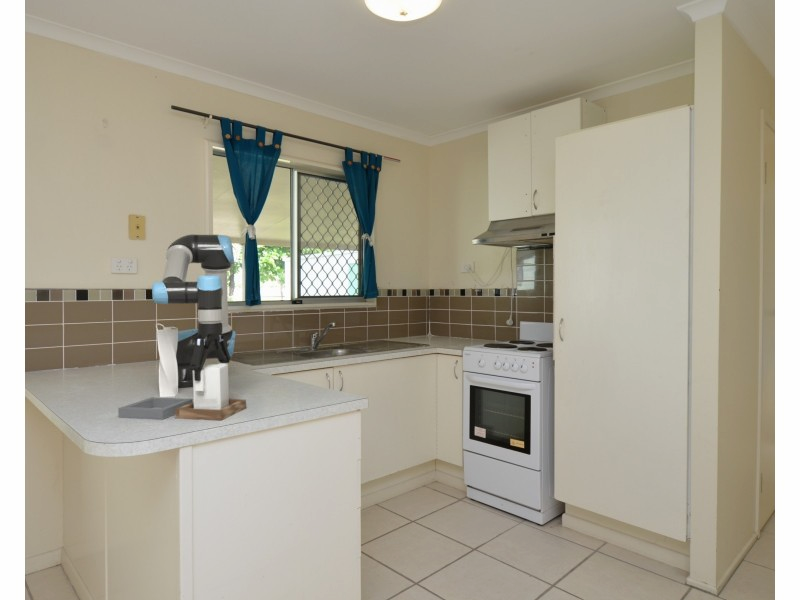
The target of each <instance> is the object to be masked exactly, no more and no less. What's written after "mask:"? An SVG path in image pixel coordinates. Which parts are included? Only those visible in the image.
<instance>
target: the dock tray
mask: <svg viewBox="0 0 800 600" xmlns="http://www.w3.org/2000/svg"><path fill="white" fill-rule="evenodd" d="M245 409H247V399H237V398H229V405H228V406H226V407H224V408H222V409H220V410H215V409H194V401H193V402H192V403H189V404H187V405H184V406H182V407H179V408H176V409H175V415H174V417H175V419H178V418H183V420H184V419H185V420H199V419H204V420H203V421H223V420H225V419H227V418H229V417H232V416H233V415H235V414H237V413H239V412H240V413H241V411H243V410H245Z"/></svg>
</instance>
